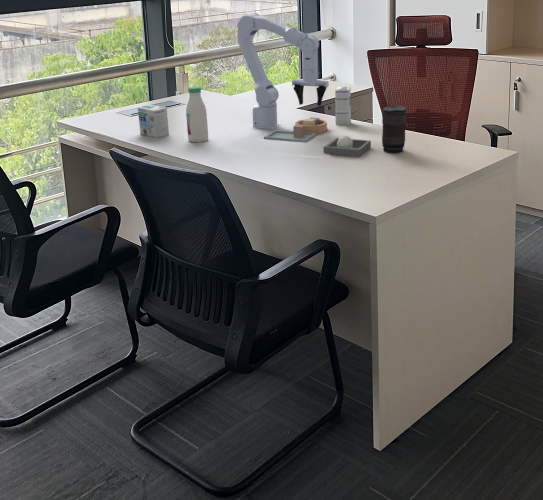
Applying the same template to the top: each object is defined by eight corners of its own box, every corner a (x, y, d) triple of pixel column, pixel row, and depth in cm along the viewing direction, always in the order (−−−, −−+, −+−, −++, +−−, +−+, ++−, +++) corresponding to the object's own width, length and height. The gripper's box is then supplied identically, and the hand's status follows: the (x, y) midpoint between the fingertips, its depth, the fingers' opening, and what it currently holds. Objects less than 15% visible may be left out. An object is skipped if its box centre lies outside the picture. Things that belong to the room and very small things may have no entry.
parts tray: (263, 139, 256) (263, 136, 255) (275, 133, 265) (275, 130, 264) (305, 143, 249) (305, 140, 248) (316, 136, 258) (316, 133, 258)
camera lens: (378, 148, 239) (380, 106, 233) (401, 147, 240) (403, 105, 234) (384, 154, 232) (385, 111, 226) (407, 153, 232) (409, 109, 226)
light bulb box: (139, 134, 271) (136, 107, 267) (153, 130, 276) (150, 104, 271) (156, 137, 264) (153, 110, 260) (169, 134, 269) (167, 107, 264)
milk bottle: (211, 138, 261) (208, 85, 253) (203, 143, 254) (199, 89, 246) (193, 137, 263) (189, 85, 255) (185, 142, 257) (180, 89, 248)
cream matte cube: (303, 130, 263) (303, 120, 262) (306, 128, 266) (306, 118, 265) (311, 131, 262) (311, 121, 260) (315, 129, 265) (314, 119, 263)
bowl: (290, 133, 263) (290, 124, 262) (302, 126, 273) (302, 118, 272) (319, 135, 258) (319, 127, 257) (330, 128, 268) (330, 120, 267)
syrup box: (349, 125, 272) (350, 89, 266) (334, 125, 273) (335, 89, 267) (350, 122, 277) (351, 86, 271) (336, 122, 278) (336, 86, 272)
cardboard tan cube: (293, 137, 256) (293, 126, 255) (296, 134, 259) (296, 124, 258) (302, 137, 255) (302, 127, 253) (304, 135, 258) (304, 124, 256)
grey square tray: (323, 154, 235) (323, 146, 234) (336, 144, 246) (336, 137, 245) (359, 157, 230) (359, 150, 229) (370, 147, 240) (370, 140, 239)
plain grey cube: (307, 119, 265) (311, 117, 269) (307, 128, 267) (311, 126, 270) (315, 120, 264) (319, 118, 267) (315, 129, 265) (319, 126, 269)
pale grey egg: (342, 154, 234) (342, 138, 232) (333, 151, 238) (333, 135, 236) (361, 151, 237) (361, 135, 235) (351, 147, 242) (352, 132, 239)
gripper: (288, 70, 258) (289, 105, 263) (323, 71, 252) (324, 107, 258) (295, 67, 264) (296, 102, 269) (330, 68, 258) (330, 104, 263)
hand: (310, 104), depth 264 cm, fingers open, 7 cm apart
